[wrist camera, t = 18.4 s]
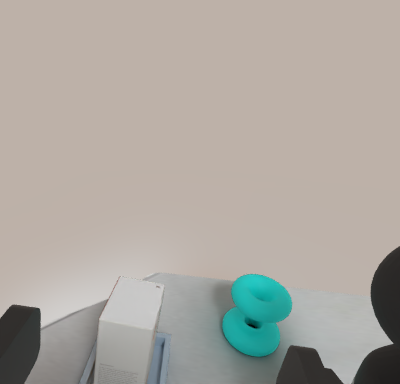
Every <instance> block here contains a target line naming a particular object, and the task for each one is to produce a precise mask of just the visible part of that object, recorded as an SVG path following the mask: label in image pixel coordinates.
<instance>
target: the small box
mask: <svg viewBox="0 0 400 384" xmlns="http://www.w3.org/2000/svg"><path fill="white" fill-rule="evenodd" d="M164 289H165V285H163V284H159V283H154V282H149V281H144V280H138V279H133V278H127V277H121V276H120V277H119V279H118V281H117V283H116V285H115V287H114V289H113V291H112V293H111V295H110V297H109V299H108V301H107V303H106V305H105V307H104V309H103V311H102V313H101V315H100V317H99V323H98V336H97V348H96V360H95V372H94V383H93V384H147V381H148V376H149V372H150V368H151V363H152V359H153V352H154V346H155V340H156V334H157V329H158V323H159V318H160V312H161V307H162V301H163V295H164Z"/></svg>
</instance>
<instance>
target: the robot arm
mask: <svg viewBox="0 0 400 384" xmlns="http://www.w3.org/2000/svg"><path fill="white" fill-rule="evenodd" d="M371 302H372V306H373V309H374V313H375V316H376V318H377V320H378V322H379V324H380V326H381V327H382V329H383V330H384V332H385V333H386V335H387V336H388V338H389V339H390V340H391V341H392V342H393V343H394V344H391V345H388V346H384V347H381V348H378V349H376V350H374V351H372V352H371V353H369V354H368V355H367V356H366V358H365V359H364V360H363V362H362V364H361V366H360V367H359V369H358V371H357V373H356V376H355V377H354V379H353V381H352V383H351V384H400V246H399V247H398V248H396V249H395V250H393V251H392V252H391V253H390V254H389V255H387V256H386V258H385V259H384V260H383V261H382V262H381V263H380V265H379V267H378V269H377V270H376V272H375V274H374V277H373V281H372V284H371ZM40 320H41V313H40V309H39V308H35V307H27V306H21V305H12V306H11V307H9V309H8V310H7V311H6V312H5V314H4V315H3V316H2V317H1V318H0V384H24V382H25V381H26V379H27V377H28V375H29V374H30V372H31V370H32V368H33V366H34V364H35V362H36V360H37V357H38V354H39V350H40ZM276 384H343V383H342V381H341V380H340V379H339V378H338V377H337V375H336V374H335V373H334V372H333V370H332V369H328V368H324V366H323V364H322V361H321V359H320V357H319V354H318V352H317V351H316V350H315V349H314V348H307V347H300V346H293V345H291V346H290V347H289V348H288V351H287V353H286V356H285V359H284V361H283V364H282V366H281V369H280V372H279V374H278V377H277V381H276Z"/></svg>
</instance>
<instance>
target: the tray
mask: <svg viewBox="0 0 400 384" xmlns="http://www.w3.org/2000/svg"><path fill="white" fill-rule="evenodd" d="M170 341H171V334H165V333H158V332H157V334H156V340H155V346H154V352H153V359H152V363H151V368H150V372H149V376H148V381H147V384H166V378H167V369H168V359H169V350H170ZM96 348H97V339H96V341H95V344H94V347H93V349H92V352H91V354H90V357H89V360H88V362H87V365H86V367H85V370H84V373H83V375H82V378H81V380H80V383H79V384H93V383H94V372H95V360H96Z"/></svg>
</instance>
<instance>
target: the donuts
mask: <svg viewBox="0 0 400 384" xmlns="http://www.w3.org/2000/svg"><path fill="white" fill-rule="evenodd" d="M231 295H232V299H233V301H234V303H235V305H236V307H234V308H232V309H230V310H229V311H228V312H227V313H226V314H225V316H224V318H223V322H222V328H223V332H224V335H225V337H226V339H227V340H228V342H229V343H230V344H231V345H232V346H233V347H234V348H236V349H237V350H239V351H240V352H242V353H244V354H247V355H250V356H256V357H261V356H266V355H269V354H271V353H272V352H274V351H275V350H276V348H277V347H278V345H279V342H280V332H279V328H278V326H277V324H276V322H279V321H282V320H284V319H285V318H286V317H287V316H288V315H289V314H290V312H291V309H292V300H291V297H290V295H289V293H288V292H287V290H286V289H285V288H284V287H283V286H282V285H280V284H279V283H278V282H276V281H275V280H273V279H271V278H269V277H266V276H263V275H258V274H248V275H244V276H241V277H239V278H238V279H237V280H236V281H235V282H234V283H233V285H232V289H231ZM247 324H251V325H253V326H255V327H257V329H256V328H252V327H250V326H248V325H247Z"/></svg>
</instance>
